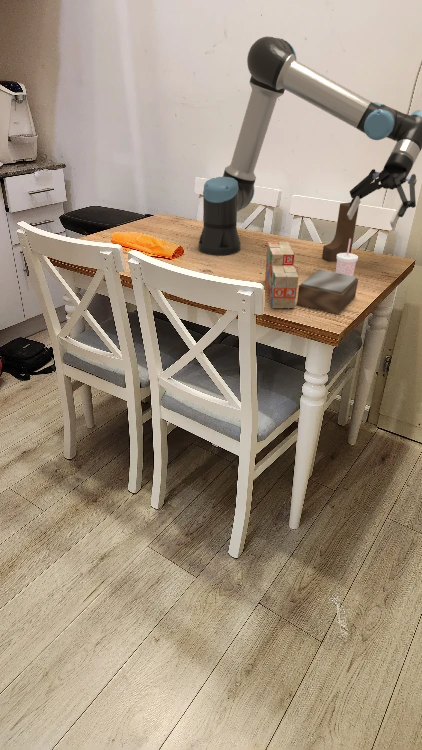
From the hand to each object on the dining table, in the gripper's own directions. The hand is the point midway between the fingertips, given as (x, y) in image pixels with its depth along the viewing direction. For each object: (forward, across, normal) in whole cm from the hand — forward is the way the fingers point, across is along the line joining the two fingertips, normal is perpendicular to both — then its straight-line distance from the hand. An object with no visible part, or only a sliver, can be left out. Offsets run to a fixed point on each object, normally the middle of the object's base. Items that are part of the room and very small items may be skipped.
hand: (369, 221), depth 143 cm
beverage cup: (+20, 0, -4) cm, 20 cm away
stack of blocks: (+33, +11, +9) cm, 36 cm away
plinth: (+29, -2, +5) cm, 30 cm away
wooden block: (+5, +14, -19) cm, 24 cm away
